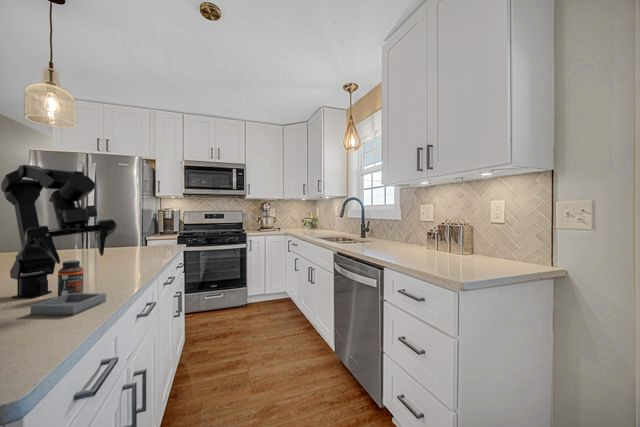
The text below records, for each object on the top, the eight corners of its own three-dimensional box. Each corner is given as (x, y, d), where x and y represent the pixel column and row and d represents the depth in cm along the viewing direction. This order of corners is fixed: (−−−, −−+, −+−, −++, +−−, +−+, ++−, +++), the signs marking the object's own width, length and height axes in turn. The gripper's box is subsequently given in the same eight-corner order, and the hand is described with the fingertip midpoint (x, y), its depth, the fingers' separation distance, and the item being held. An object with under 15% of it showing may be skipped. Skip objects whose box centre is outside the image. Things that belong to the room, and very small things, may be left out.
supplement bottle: (67, 300, 82) (67, 263, 82) (52, 299, 84) (52, 262, 83) (88, 294, 88) (88, 260, 88) (73, 293, 89) (73, 259, 89)
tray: (30, 315, 70) (30, 305, 70) (69, 301, 81) (69, 293, 81) (73, 315, 71) (73, 306, 71) (105, 301, 82) (105, 293, 82)
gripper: (22, 197, 65) (36, 256, 63) (114, 194, 80) (129, 241, 78) (19, 217, 72) (31, 272, 69) (105, 210, 87) (118, 255, 84)
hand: (81, 259), depth 75 cm, fingers open, 9 cm apart
